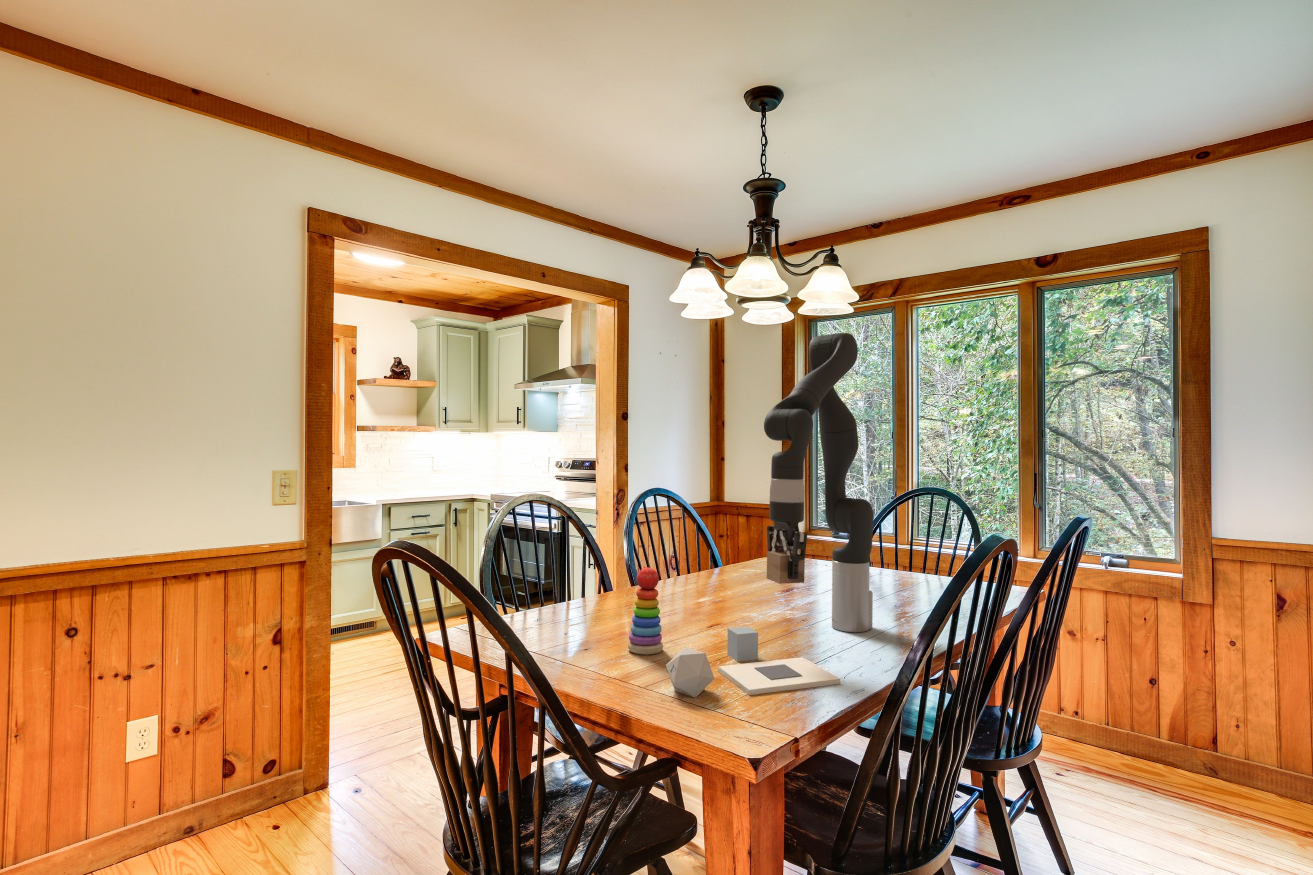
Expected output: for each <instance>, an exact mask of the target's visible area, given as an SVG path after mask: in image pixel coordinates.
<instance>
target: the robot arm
mask: <svg viewBox="0 0 1313 875" xmlns="http://www.w3.org/2000/svg"><path fill="white" fill-rule="evenodd" d="M858 354H859V348H858V343H857V340H856V338H855V337H854V336H853V334H851V333H847V332H838V333H830V334H822V335H817V336H813V337H812V339H810V341H809V345H808V359H809V365H810V372H809V373H807V374H806V375H804V376H803V377H802V378H800V380H798V382H797V383H796V384H795V386H794V387H793V389H792V390H791V391H790V393H789V395H788V396H786V397H785V398H783V399H782V400H780V402H777V404H775V405H774V406H773V407H772V408H770V410H768V412H767V414H766V415H765V418H764V421H763V431H764V432H765V435H766V437H768V438H769V439H770V440H772V441H777V442H781V441H782V442H783V441H784V442H787V441H788V442H789V441H790V442H791V443H790V445H789V447H788V449H786V450H783V451H777V452H774V453H773V455H772V457H771V463H770V464H771V468H770V470H771V471H770V473H771V474H770V486H769V506H768V507H769V512H768V518H769V519H768V520H769V521H771V522H774V524H773V525H767V526H766V539H767V544H766V545H767V551H785V552H786V553H787V555H788V561H789V562H788V578H789V579H797V578H798V564H799V561H800V560H804V559H805V560H806V553H807V552H806V551H807V540H808V539H807V538H808V533H807V532H805V531H804V532H803V531H802V532H801V530H800V528H799V527H800V526H799V523H803V522H804V520H805V484H804V482H805V481H804V477H805V475H804V473H805V472H804V471H805V468H804V467H805V459H806V454H807V450H808V446H809V443H810V440H811V436H812V433H813V430H814V429H813V428H814V420H813V415H814V414H815V413H816V411H817V412H818V413H817V414H818V425H819V437H820V438H819V439H820V446H821V452H822V460H823V461H822V462H823V473H824V512H825V520H826V525H827V526H828V528H829V529H830V530H831V531H832V532H835V533H838V534H847V535H849V538H848V542H847V543H846V544H844V545H841V546H837V547H834V548H833V549H832V555H831V556H832V560H831V561H832V562H831V563H832V564H831V565H832V567H831V568H832V569H831V581H832V582H831V588H832V589H831V627H832V628H833V629H835V630H837V631H841V632H849V633H863V632H867V631H869V630H872V629H873V617H874V616H873V613H874V612H873V610H874V609H873V607H874V605H873V604H874V603H873V600H874V599H873V596H874V595H873V593H874V592H873V591H872V590H870V560H871V559H870V558H871V553H872V549H873V534H874V533H873V532H874V520H875V519H874V518H875V517H874V509H873V506H872V504H871V502H870V501H868V500H867V499H864V498H855V497H853V498H852V497H847V495H846V480H847V479H846V478H847V475H848V472H849V470H850V468H851V466H852V464H853V462H854V460H855V458H856V456H857V453H858V451H859V443H860V442H859V435H858V434H859V433H858V432H859V431H858V426H857V424H858V423H857V420H856V418H855V416H854V414H853V413H852V412H851V410H850V409H849V407H848V406H847V404H845V402H844V401H843V400H842V399H841V397H840V396H839V395H838V392H837V391H836V389H835V387H834V386H835V385H836V384H837V383H838V382H839V381H840V380H841V379H842V378H843V377H844V376H845V375H846V374H847V373H849V371H850V370H851V369H852V368H853V367H854V366H855V364H856V362H857V360H858ZM791 551H793V553H791Z"/></svg>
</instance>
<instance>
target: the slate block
mask: <svg viewBox="0 0 1313 875" xmlns="http://www.w3.org/2000/svg"><path fill="white" fill-rule="evenodd" d="M727 656H729V658H731V659H733V660H734V661H736V662H737V663H738V662H749V661H758V660H759V632H758V631H757V630H755V629H753V628H751V627H750V626H738V627H728V628H727Z"/></svg>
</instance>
